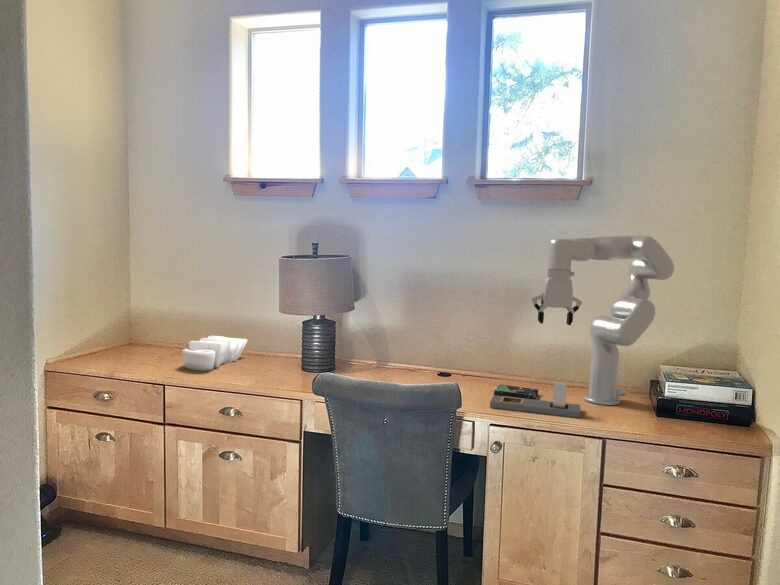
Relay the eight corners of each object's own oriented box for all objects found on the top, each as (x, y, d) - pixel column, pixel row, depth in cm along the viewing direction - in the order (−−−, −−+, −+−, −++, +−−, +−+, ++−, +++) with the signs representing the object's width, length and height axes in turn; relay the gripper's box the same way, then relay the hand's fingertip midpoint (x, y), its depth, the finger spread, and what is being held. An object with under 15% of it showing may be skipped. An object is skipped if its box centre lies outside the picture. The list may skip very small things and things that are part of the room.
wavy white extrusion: (220, 354, 286) (220, 332, 285) (251, 358, 281) (251, 335, 280) (172, 369, 253) (172, 344, 252) (206, 373, 248) (207, 348, 247)
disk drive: (537, 396, 234) (499, 390, 239) (538, 389, 234) (499, 383, 239) (533, 402, 224) (493, 396, 230) (533, 395, 224) (493, 389, 230)
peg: (564, 410, 213) (566, 382, 212) (564, 414, 209) (566, 385, 208) (553, 409, 214) (554, 381, 213) (552, 412, 210) (554, 384, 209)
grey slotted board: (580, 410, 214) (580, 404, 214) (580, 418, 205) (580, 411, 205) (493, 400, 223) (494, 394, 223) (489, 407, 214) (490, 401, 213)
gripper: (580, 275, 216) (576, 323, 217) (531, 272, 215) (527, 321, 217) (587, 276, 208) (583, 326, 210) (536, 273, 208) (532, 324, 209)
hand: (554, 323), depth 213 cm, fingers open, 9 cm apart
